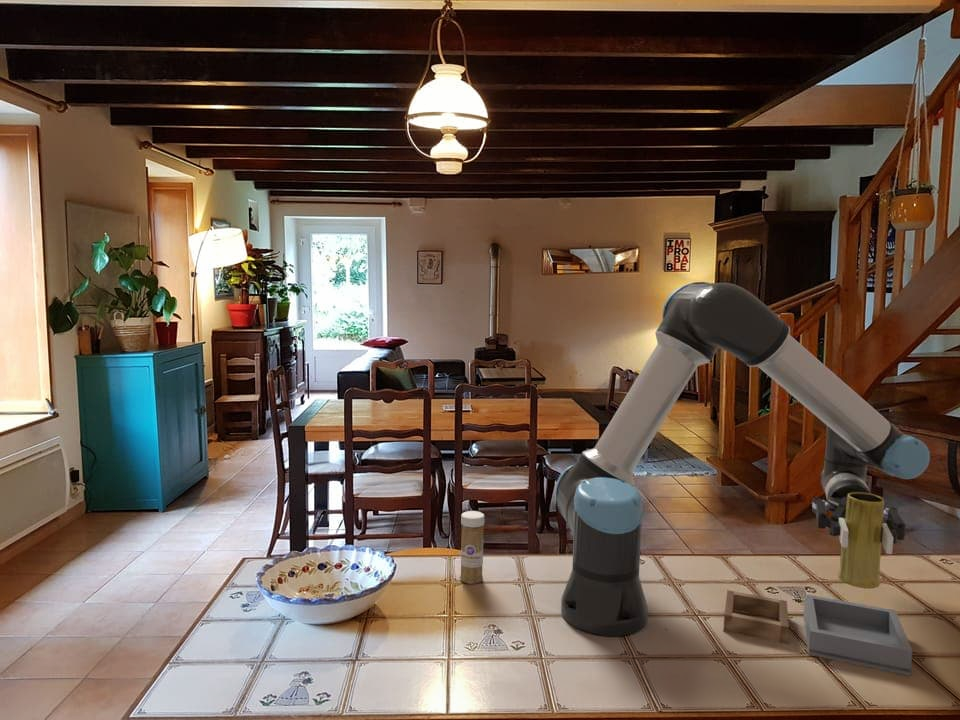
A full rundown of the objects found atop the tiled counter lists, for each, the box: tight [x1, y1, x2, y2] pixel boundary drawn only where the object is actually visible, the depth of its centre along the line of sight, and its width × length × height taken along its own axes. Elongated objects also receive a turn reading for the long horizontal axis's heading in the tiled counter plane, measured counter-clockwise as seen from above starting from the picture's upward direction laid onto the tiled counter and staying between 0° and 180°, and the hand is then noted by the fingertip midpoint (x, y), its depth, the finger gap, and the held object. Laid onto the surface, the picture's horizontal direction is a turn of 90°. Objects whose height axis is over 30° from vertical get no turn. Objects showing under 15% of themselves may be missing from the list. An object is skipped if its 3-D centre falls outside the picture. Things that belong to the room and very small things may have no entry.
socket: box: [723, 589, 790, 645], centre depth 117 cm, size 10×10×3 cm
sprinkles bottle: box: [459, 510, 485, 585], centre depth 131 cm, size 5×5×14 cm
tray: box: [803, 593, 913, 676], centre depth 111 cm, size 14×14×4 cm
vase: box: [837, 492, 885, 589], centre depth 109 cm, size 6×6×14 cm
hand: (867, 542), depth 104 cm, fingers closed on vase, 5 cm apart
